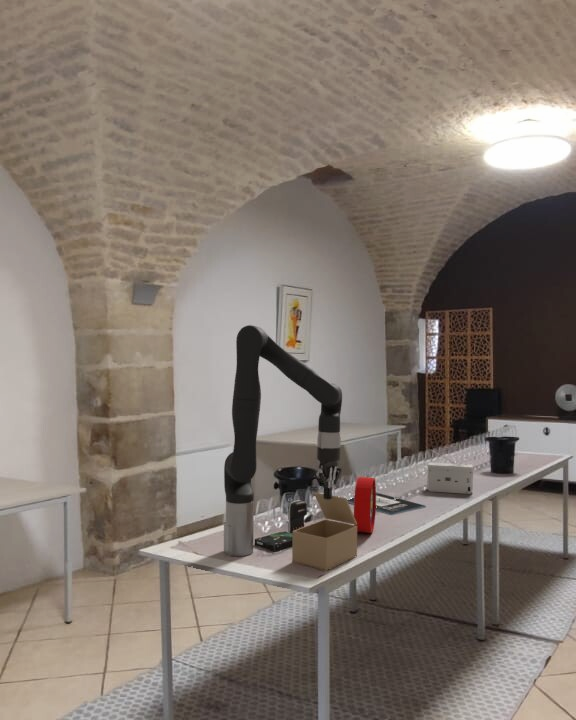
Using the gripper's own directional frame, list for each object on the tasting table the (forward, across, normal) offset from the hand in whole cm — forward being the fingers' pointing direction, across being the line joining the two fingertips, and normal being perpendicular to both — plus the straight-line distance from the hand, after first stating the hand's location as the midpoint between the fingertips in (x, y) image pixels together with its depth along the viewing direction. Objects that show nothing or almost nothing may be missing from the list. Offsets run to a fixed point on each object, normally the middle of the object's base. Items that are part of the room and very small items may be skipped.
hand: (327, 498), depth 216 cm
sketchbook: (+19, -77, -22) cm, 82 cm away
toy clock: (+19, -35, -6) cm, 40 cm away
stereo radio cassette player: (+18, -118, -9) cm, 119 cm away
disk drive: (+20, -3, -21) cm, 30 cm away
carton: (+19, +1, 0) cm, 19 cm away
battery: (+19, -18, -25) cm, 36 cm away
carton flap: (+4, -5, 0) cm, 6 cm away
